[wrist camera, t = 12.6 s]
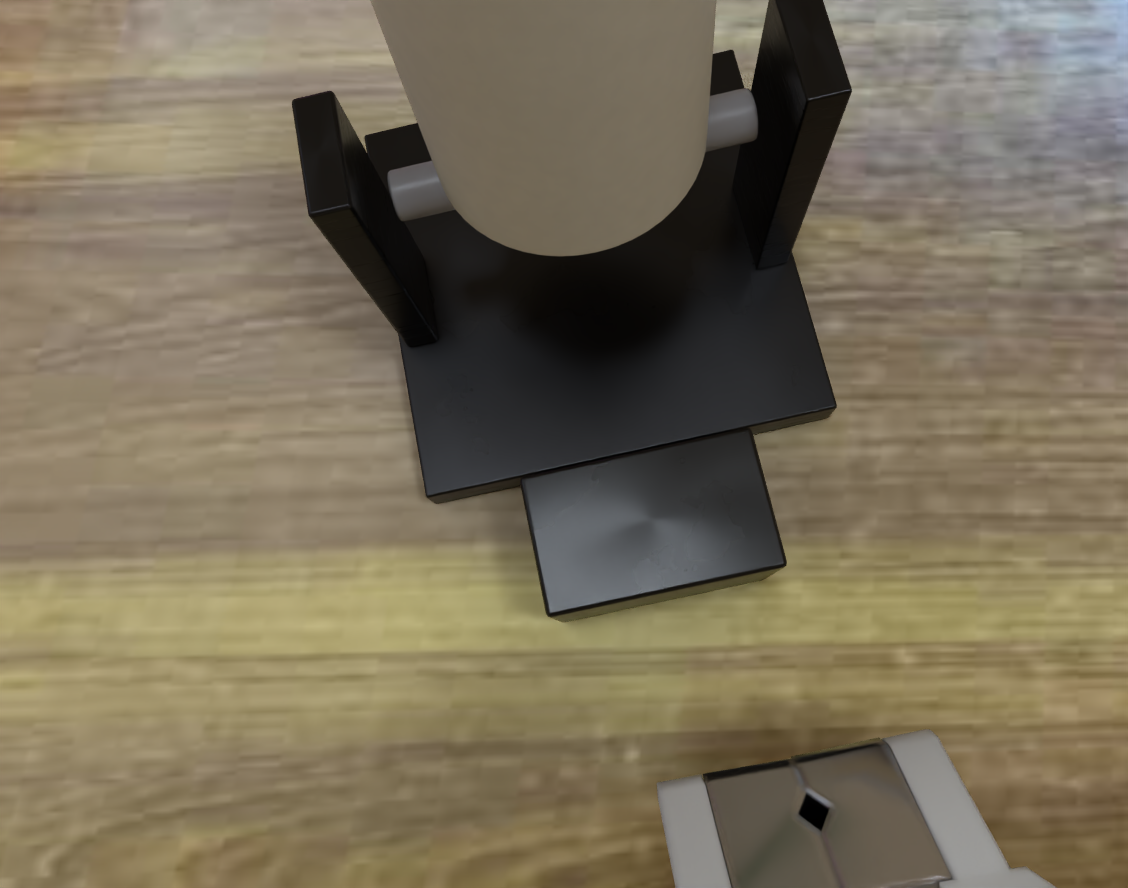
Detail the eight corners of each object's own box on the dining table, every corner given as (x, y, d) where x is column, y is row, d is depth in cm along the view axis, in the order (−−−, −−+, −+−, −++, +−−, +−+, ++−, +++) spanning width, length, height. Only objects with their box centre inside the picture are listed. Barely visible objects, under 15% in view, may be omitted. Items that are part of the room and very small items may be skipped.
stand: (869, 557, 21) (1001, 503, 14) (459, 645, 22) (358, 641, 14) (729, 71, 25) (771, -197, 17) (374, 154, 25) (253, -72, 17)
